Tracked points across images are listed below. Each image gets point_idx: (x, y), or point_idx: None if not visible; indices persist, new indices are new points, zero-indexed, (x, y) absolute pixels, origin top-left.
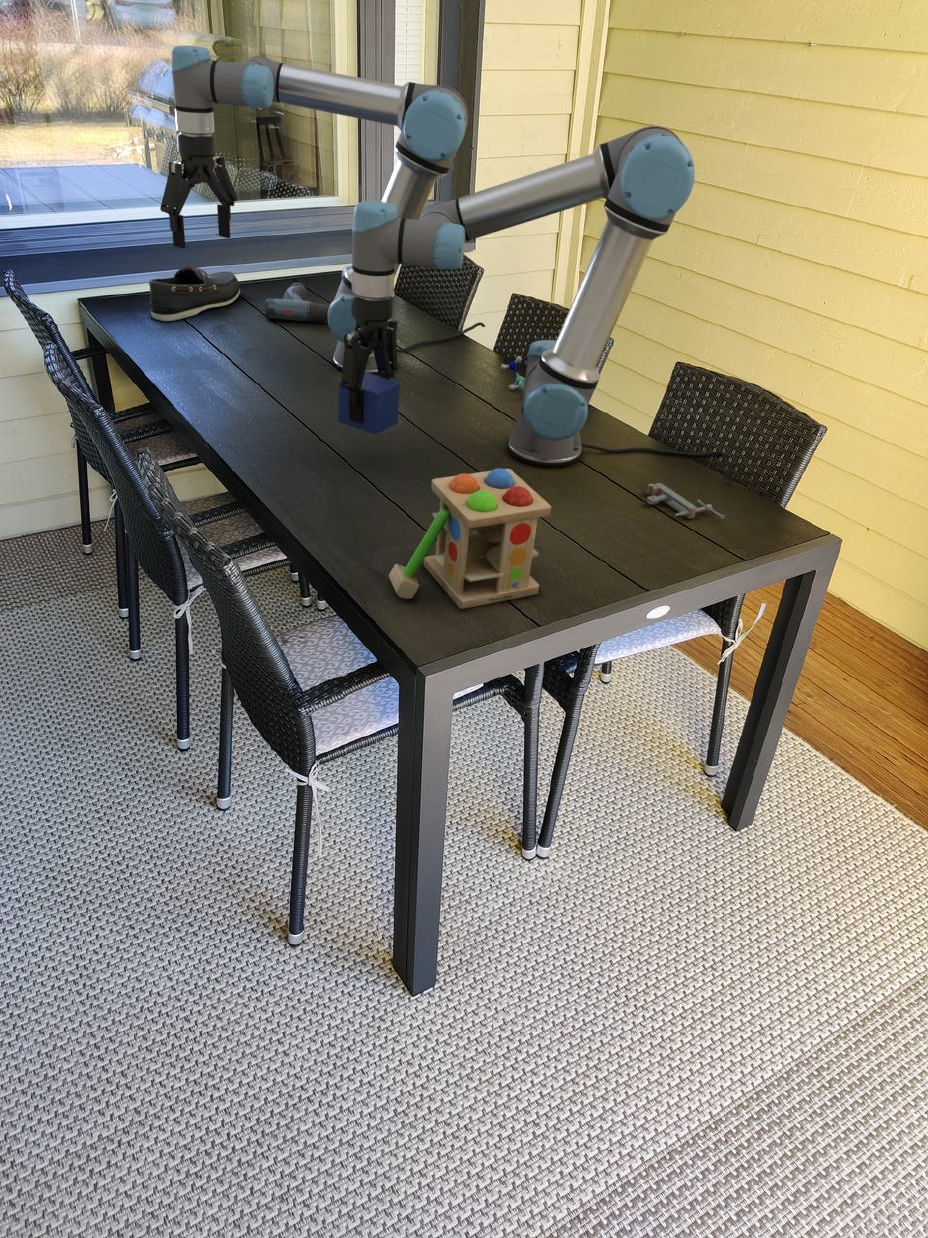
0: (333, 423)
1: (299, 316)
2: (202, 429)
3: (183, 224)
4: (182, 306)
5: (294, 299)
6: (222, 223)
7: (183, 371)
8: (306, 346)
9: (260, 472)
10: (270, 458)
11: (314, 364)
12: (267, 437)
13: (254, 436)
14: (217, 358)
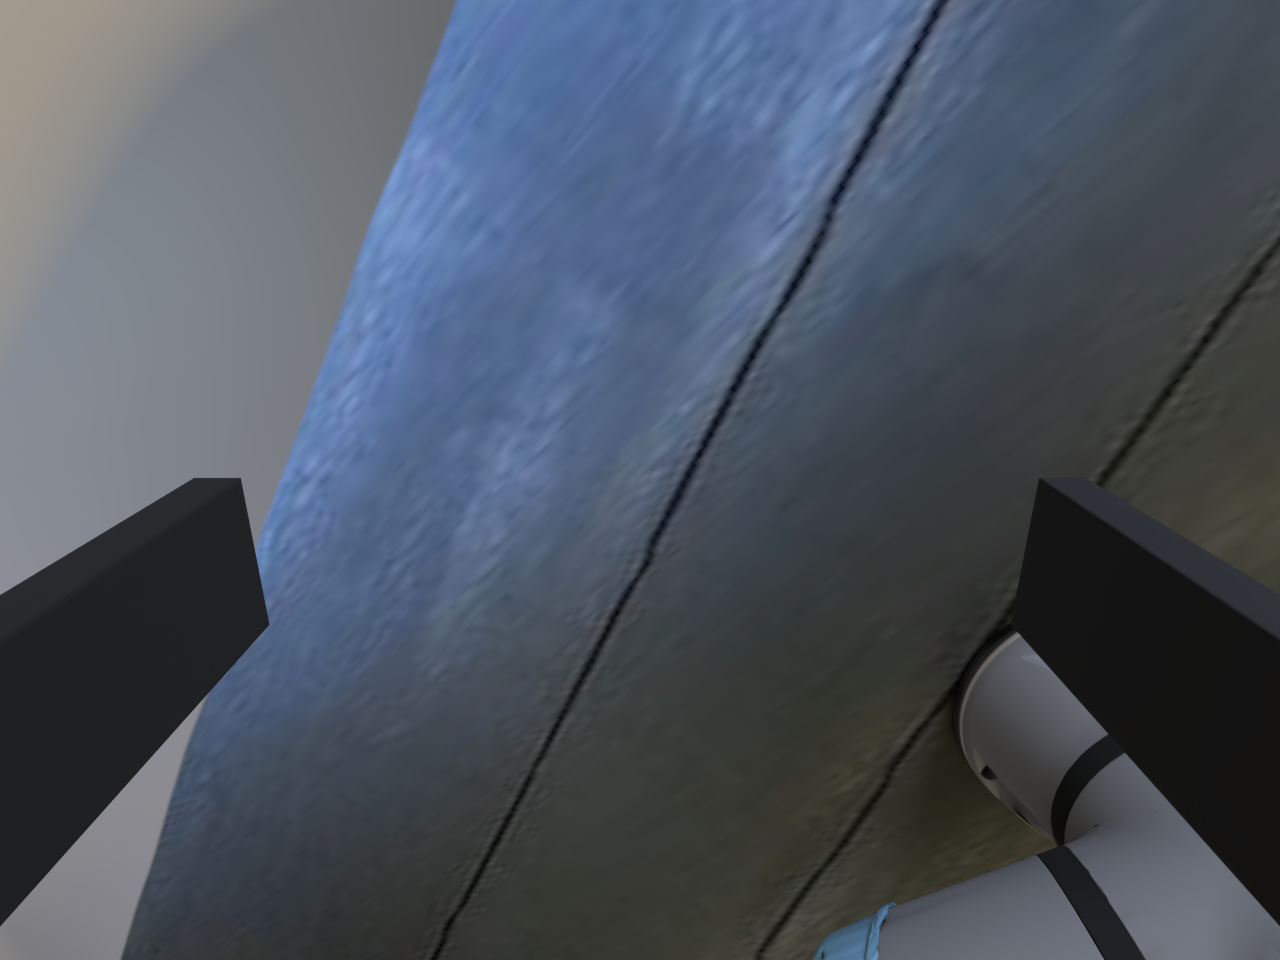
0: (564, 888)
1: None
2: (229, 677)
3: (67, 842)
4: None
5: None
6: (1124, 646)
7: (535, 253)
8: (1139, 424)
9: (188, 929)
10: (263, 903)
11: (961, 575)
12: (348, 828)
13: (323, 802)
14: (761, 244)
